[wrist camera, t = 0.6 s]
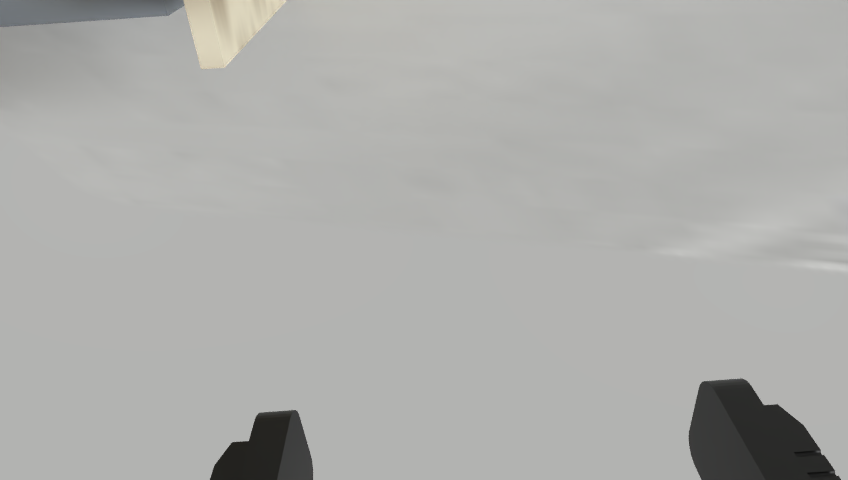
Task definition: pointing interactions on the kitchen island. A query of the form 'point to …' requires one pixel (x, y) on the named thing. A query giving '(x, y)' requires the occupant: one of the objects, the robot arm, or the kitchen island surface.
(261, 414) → the robot arm
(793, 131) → the kitchen island surface
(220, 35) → the card
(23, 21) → the board
